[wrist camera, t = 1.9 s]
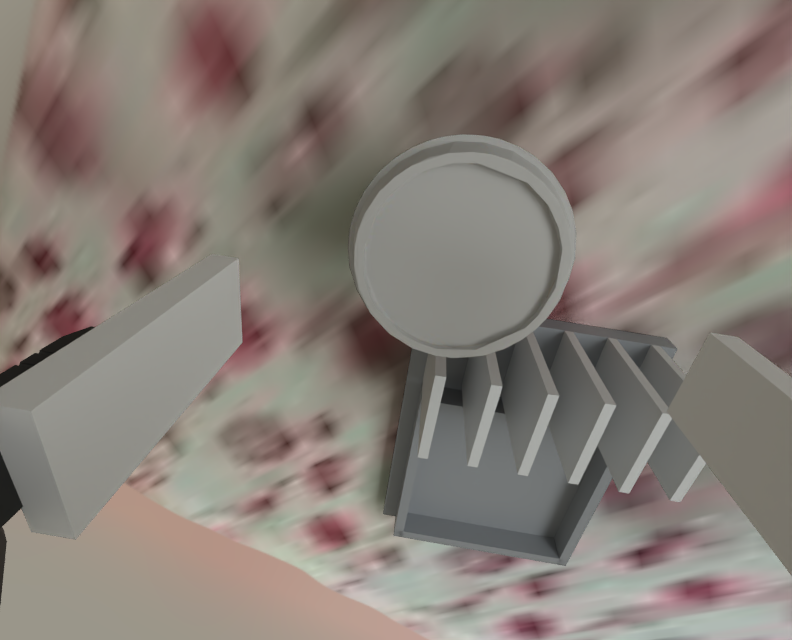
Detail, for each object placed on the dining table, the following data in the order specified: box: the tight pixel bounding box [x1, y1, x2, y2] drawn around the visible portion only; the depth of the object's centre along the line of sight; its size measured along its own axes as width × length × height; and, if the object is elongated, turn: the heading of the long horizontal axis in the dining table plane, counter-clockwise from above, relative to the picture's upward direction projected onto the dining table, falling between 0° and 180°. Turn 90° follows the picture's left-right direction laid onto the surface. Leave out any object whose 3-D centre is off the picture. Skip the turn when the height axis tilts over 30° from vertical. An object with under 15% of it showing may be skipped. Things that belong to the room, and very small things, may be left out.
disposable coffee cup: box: [348, 134, 576, 358], centre depth 22 cm, size 10×10×12 cm
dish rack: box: [383, 319, 706, 566], centre depth 31 cm, size 22×18×10 cm
